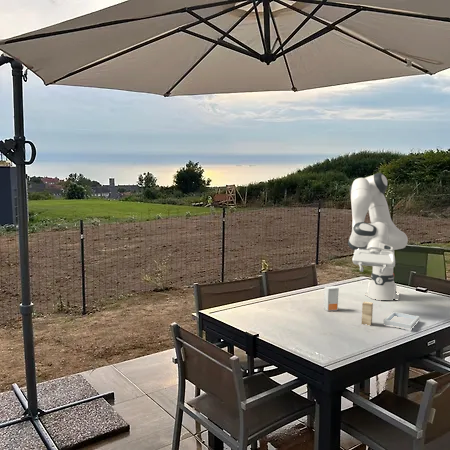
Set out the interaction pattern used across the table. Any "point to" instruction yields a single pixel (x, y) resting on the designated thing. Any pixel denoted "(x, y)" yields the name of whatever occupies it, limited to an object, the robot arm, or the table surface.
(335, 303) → the skincare box
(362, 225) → the robot arm
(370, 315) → the birch block
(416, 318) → the tray
